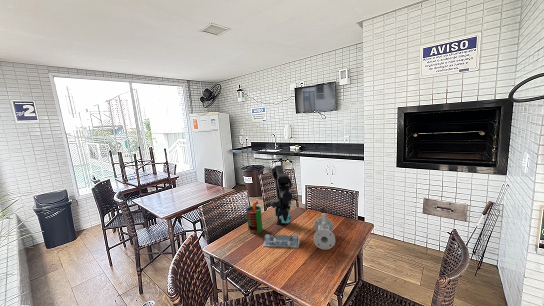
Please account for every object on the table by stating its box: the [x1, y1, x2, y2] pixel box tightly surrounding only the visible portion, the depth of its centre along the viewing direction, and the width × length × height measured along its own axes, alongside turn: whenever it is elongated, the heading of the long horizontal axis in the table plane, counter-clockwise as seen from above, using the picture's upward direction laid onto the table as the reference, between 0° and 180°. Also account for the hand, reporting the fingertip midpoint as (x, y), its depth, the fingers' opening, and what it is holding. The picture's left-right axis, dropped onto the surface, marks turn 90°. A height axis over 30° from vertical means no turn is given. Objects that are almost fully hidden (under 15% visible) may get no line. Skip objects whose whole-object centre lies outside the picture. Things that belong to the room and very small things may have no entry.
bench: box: [262, 234, 301, 249], centre depth 131 cm, size 8×21×5 cm, turn 79°
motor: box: [246, 200, 263, 235], centre depth 148 cm, size 10×9×20 cm
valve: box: [313, 208, 336, 251], centre depth 132 cm, size 22×12×15 cm, turn 168°
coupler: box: [279, 214, 293, 224], centre depth 138 cm, size 4×8×4 cm, turn 80°
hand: (285, 219), depth 138 cm, fingers closed on coupler, 4 cm apart
